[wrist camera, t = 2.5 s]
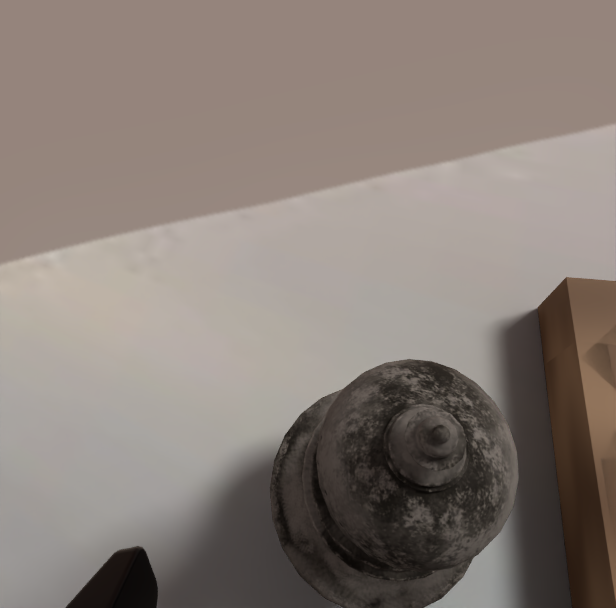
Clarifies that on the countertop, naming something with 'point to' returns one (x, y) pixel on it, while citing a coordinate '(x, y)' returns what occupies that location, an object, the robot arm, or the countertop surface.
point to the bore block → (584, 429)
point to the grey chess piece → (393, 485)
